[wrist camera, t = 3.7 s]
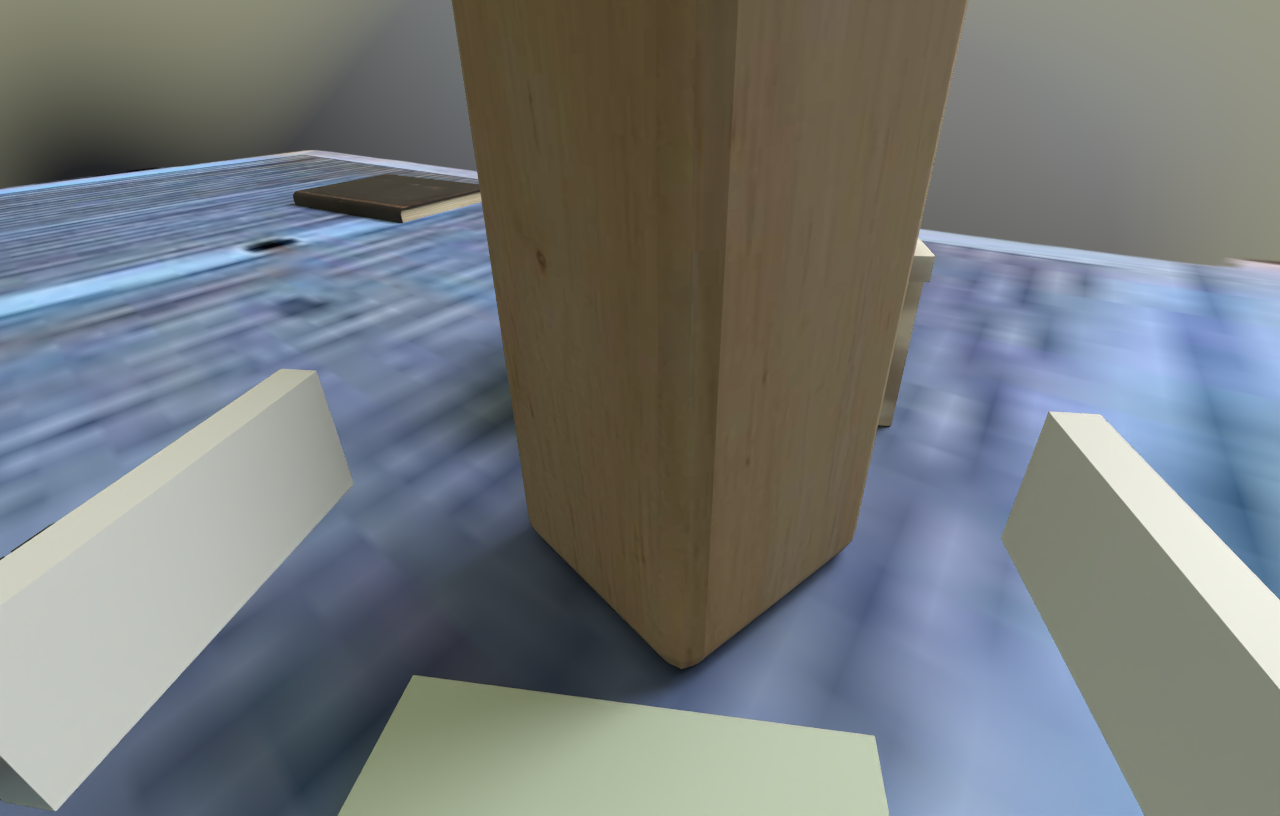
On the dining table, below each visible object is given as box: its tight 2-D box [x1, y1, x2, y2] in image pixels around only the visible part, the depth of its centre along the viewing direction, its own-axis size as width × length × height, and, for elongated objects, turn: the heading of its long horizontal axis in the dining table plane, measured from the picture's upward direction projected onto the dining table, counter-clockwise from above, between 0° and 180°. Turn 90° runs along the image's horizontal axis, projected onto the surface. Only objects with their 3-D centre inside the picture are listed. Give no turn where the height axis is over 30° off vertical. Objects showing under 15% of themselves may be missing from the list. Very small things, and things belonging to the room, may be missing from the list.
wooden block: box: [452, 0, 969, 669], centre depth 20 cm, size 10×10×20 cm
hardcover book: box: [293, 174, 482, 223], centre depth 85 cm, size 16×23×2 cm
